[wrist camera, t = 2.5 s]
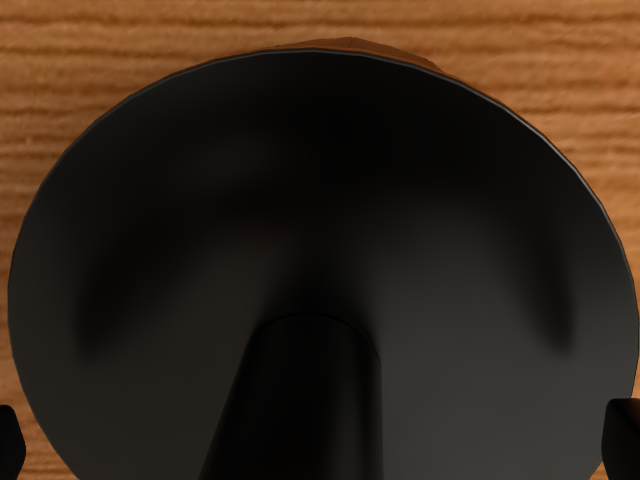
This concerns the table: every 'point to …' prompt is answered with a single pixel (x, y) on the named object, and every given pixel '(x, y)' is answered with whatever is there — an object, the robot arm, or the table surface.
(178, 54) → the table surface
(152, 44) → the table surface
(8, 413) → the robot arm
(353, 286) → the lid
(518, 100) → the table surface
